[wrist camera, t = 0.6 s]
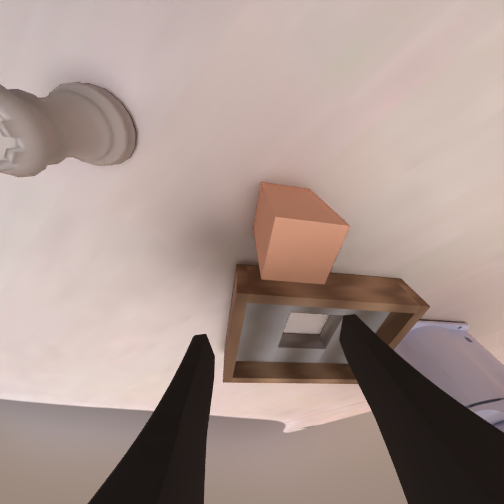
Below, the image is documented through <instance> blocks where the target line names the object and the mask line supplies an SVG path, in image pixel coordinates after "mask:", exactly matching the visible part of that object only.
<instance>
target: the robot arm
mask: <svg viewBox="0 0 504 504" xmlns="http://www.w3.org/2000/svg"><path fill="white" fill-rule="evenodd" d="M469 328H470V325H468V324H467V323H454V322H437V321H420V320H419V321H418V322H417V323H416V324H415V325H414V326H413V328H412V329H411V330H410V331H409V332H408V333H407V335H406V336H405V337H404V338H403V339H402V341H401V342H400V343H399V344H398V345H397V346H396V348H395V349H394V350H393V349H392V348H391V347H390V346H388V345H387V344H386V343H385V342H384V341H383V340H382V339H381V338H380V337H379V336H378V335H377V334H376V333H374V332H373V331H372V330H371V329H370V328H369V327H368V326H367V325H366V324H365V323H364V322H363V321H362V320H361V319H360V318H359V317H358V316H357V315H356V314H351V315H343V320H342V325H341V331H340V337H339V341H340V344H341V347H342V349H343V352H344V355H345V357H346V360H347V362H348V364H349V366H350V368H351V370H352V372H353V374H354V376H355V378H356V380H357V382H358V384H359V386H360V388H361V390H362V392H363V394H364V396H365V398H366V400H367V402H368V404H369V406H370V408H371V410H372V412H373V414H374V417H375V419H376V421H377V424H378V426H379V429H380V431H381V434H382V436H383V439H384V441H385V444H386V446H387V449H388V451H389V454H390V456H391V459H392V462H393V464H394V467H395V469H396V472H397V475H398V478H399V480H400V483H401V485H402V488H403V491H404V494H405V497H406V499H407V502H408V504H504V365H503V364H502V363H501V362H500V361H499V360H497V359H496V358H495V357H494V356H493V355H492V354H491V353H490V352H489V351H488V350H486V349H485V348H484V347H483V346H482V345H481V344H480V343H479V342H478V341H477V340H475V339H474V338H473V337H472V336H471V335H470V334H469V333H468V332H467V330H468V329H469ZM214 364H215V356H214V353H213V350H212V348H211V345H210V343H209V340H208V337H207V335H206V334H201V335H195V336H194V337H193V338H192V341H191V343H190V345H189V347H188V350H187V352H186V354H185V356H184V358H183V360H182V362H181V364H180V366H179V368H178V370H177V372H176V374H175V376H174V377H173V379H172V381H171V383H170V385H169V387H168V388H167V390H166V392H165V394H164V395H163V397H162V399H161V401H160V402H159V404H158V406H157V407H156V409H155V411H154V412H153V414H152V415H151V417H150V419H149V420H148V422H147V423H146V425H145V426H144V428H143V429H142V431H141V432H140V434H139V435H138V437H137V438H136V440H135V441H134V443H133V444H132V445H131V447H130V448H129V450H128V451H127V453H126V454H125V455H124V457H123V458H122V460H121V461H120V462H119V464H118V465H117V466H116V468H115V469H114V470H113V472H112V473H111V474H110V475H109V477H108V478H107V479H106V481H105V482H104V484H103V485H102V486H101V487H100V489H99V490H98V491H97V492H96V494H95V495H94V496H93V498H92V499H91V500H90V501H89V503H88V504H204V480H205V458H206V438H207V429H208V421H209V414H210V406H211V398H212V390H213V382H214Z"/></svg>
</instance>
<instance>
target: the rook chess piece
mask: <svg viewBox="0 0 504 504" xmlns="http://www.w3.org/2000/svg"><path fill="white" fill-rule="evenodd" d="M134 148H135V130H134V126H133V123H132V120H131V117H130V115H129V114H128V113H127V111H126V110H125V108H124V107H123V105H122V104H121V102H120V101H119V100H117V99H116V98H115V97H114V96H113V95H111V94H110V93H109V92H108V91H106V90H105V89H103V88H100V87H97V86H95V85H92V84H89V83H84V84H83V83H80V82H76V83H63V84H61V85H59V86H58V87H56V88H55V89H54V90H53V91H51V92H50V93H49V95H48V96H47V97H44V98H38V97H36V96H35V95H33V94H31V93H28V92H25V91H22V90H19V89H10V90H7V89H6V88H5V87H3V86H2V85H0V172H1V173H5V174H9V175H12V176H16V177H28V176H35V175H37V174H38V173H40V172H41V171H43V170H44V169H46V166H47V165H52V164H58V163H60V162H61V161H63V160H64V159H65V158H66V157H74V158H76V159H79V160H80V161H82V162H86V163H89V164H93V165H96V166H107V165H113V164H120V163H122V162H123V161H125V160H126V159H128V158H129V157H130V155H131V153H132V152H133V150H134Z"/></svg>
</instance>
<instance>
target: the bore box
mask: <svg viewBox="0 0 504 504" xmlns="http://www.w3.org/2000/svg"><path fill="white" fill-rule="evenodd" d="M429 308H430V306H429V305H428V304H427V303H426V302H425V301H424V300H423V299H422V298H421V297H420V296H419V295H418V294H417V293H415V292H414V291H413V290H412V289H411V288H410V287H409V286H408V285H407V284H406V283H405V282H404V281H403V280H402V279H396V278H385V277H374V276H362V275H351V274H340V273H329V275H328V277H327V280H326V282H325V284H313V283H300V282H288V281H275V280H262V279H261V274H260V268H259V266H249V265H238V264H237V266H236V273H235V280H234V287H233V294H232V301H231V308H230V315H229V323H228V330H227V337H226V344H225V352H224V371H223V382H233V383H324V384H358V382H357V380H356V378H355V376H354V374H353V372H352V370H351V368H350V366H349V364H348V362H347V360H346V357H345V355H344V352H343V349H342V347H341V344H340V341H339V337H340V331H341V325H342V320H343V315H351V314H356V315H357V316H358V317H359V318H360V319H361V320H362V321H363V322H364V323H365V324H366V325H367V326H368V327H369V328H370V329H371V330H372V331H373V332H374V333H376V334H377V335H378V336H379V337H380V338H381V339H382V340H383V341H384V342H385V343H386V344H387V345H388V346H390V347H391V348H392V349H393V350H394V349H395V348H396V346H397V345H398V344H399V343H400V342H401V341H402V339H403V338H404V337H405V336H406V335H407V333H408V332H409V331H410V330H411V329H412V328H413V326H414V325H415V324H416V323H417V322H418V321H419V319H420V318H421V317H422V316H423V315H424V314H425V312H426V311H427V310H428V309H429ZM290 312H293V313H310V314H327V315H330V316H329V318H328V320H327V322H326V324H325V326H324V327H323V329H322V331H321V333H320V335H312V334H290V333H283V331H284V328H285V326H286V323H287V320H288V317H289V315H290Z"/></svg>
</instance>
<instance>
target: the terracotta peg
mask: <svg viewBox="0 0 504 504" xmlns="http://www.w3.org/2000/svg"><path fill="white" fill-rule="evenodd" d="M349 228H350V225H349V224H347V223H346V222H345V221H344V220H343V219H342V218H341V217H340V216H339V215H338V214H336V213H335V212H334V211H333V210H332V209H331V208H330V207H329V206H328V205H327V204H326V203H324V202H323V201H322V200H321V199H320V198H319V197H318V196H317V195H316V194H315V193H314V192H312V191H311V190H310V189H306V188H299V187H292V186H285V185H278V184H271V183H264V182H261V186H260V192H259V197H258V203H257V209H256V215H255V221H254V226H253V230H254V237H255V243H256V249H257V255H258V262H259V268H260V274H261V279H262V280H275V281H288V282H300V283H313V284H325V282H326V280H327V277H328V275H329V273H330V271H331V268H332V266H333V264H334V262H335V259H336V257H337V255H338V252H339V250H340V248H341V246H342V243H343V241H344V239H345V237H346V234H347V232H348V230H349Z"/></svg>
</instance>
